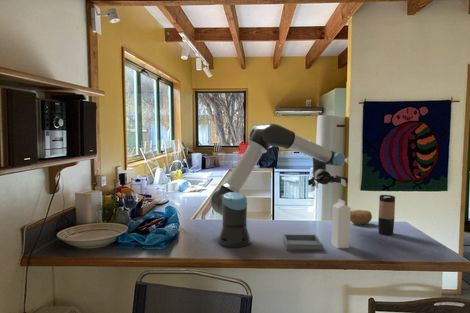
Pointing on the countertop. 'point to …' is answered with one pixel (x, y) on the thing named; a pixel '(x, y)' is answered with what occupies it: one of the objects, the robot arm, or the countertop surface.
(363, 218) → the potato
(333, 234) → the milk
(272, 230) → the countertop surface
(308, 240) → the tray
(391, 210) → the travel mug
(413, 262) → the countertop surface
